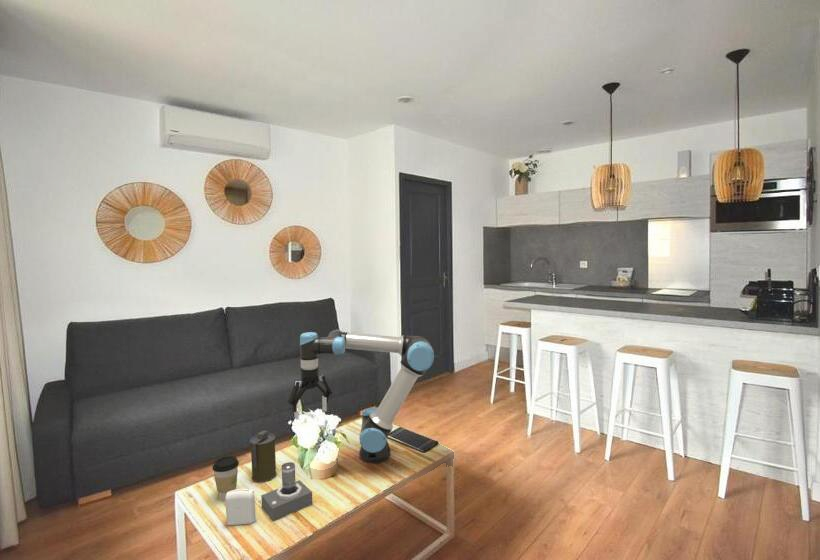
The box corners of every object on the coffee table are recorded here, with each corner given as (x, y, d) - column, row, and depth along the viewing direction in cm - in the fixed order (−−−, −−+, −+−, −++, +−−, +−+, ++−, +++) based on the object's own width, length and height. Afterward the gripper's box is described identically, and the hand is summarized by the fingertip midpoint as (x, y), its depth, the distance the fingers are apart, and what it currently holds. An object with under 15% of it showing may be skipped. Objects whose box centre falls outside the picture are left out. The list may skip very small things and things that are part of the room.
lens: (292, 487, 168) (291, 460, 168) (298, 492, 164) (297, 465, 164) (280, 492, 165) (279, 465, 164) (285, 497, 161) (284, 470, 160)
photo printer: (224, 526, 152) (223, 494, 152) (228, 519, 157) (227, 487, 156) (254, 524, 153) (252, 492, 153) (257, 517, 158) (255, 485, 157)
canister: (262, 468, 193) (260, 426, 191) (281, 472, 189) (279, 429, 188) (245, 481, 182) (243, 436, 181) (265, 485, 179) (263, 439, 177)
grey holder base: (300, 491, 174) (299, 477, 173) (312, 504, 165) (312, 489, 165) (261, 507, 164) (261, 492, 163) (272, 521, 155) (272, 505, 155)
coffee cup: (245, 494, 172) (243, 459, 171) (223, 506, 164) (221, 470, 163) (231, 487, 178) (229, 452, 177) (209, 498, 170) (207, 462, 169)
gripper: (330, 360, 196) (331, 405, 198) (278, 371, 180) (280, 419, 182) (338, 364, 190) (339, 409, 192) (286, 375, 174) (287, 425, 176)
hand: (310, 414), depth 187 cm, fingers open, 13 cm apart
